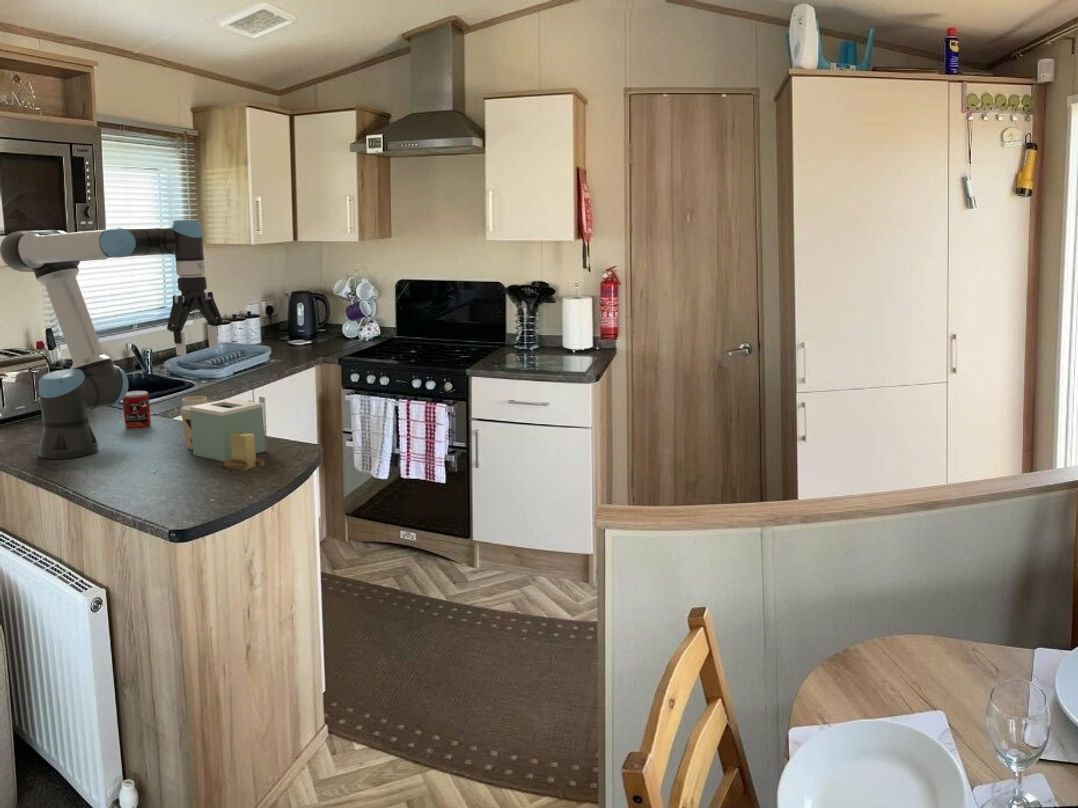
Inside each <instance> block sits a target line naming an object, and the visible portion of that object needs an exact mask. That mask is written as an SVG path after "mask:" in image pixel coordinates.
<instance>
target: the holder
mask: <svg viewBox="0 0 1078 808" xmlns="http://www.w3.org/2000/svg"><path fill="white" fill-rule="evenodd" d="M265 465H266V463H265V459H261V458H258V457H256V467H263V466H265ZM223 467H225V468H228V469H233V470H236V471H237V470H238V471H243V472H247V471H249V469H250V468H249V464H245V463H241V462H236V461H232V460H227V461H223Z"/></svg>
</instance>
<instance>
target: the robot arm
mask: <svg viewBox="0 0 1078 808" xmlns="http://www.w3.org/2000/svg"><path fill="white" fill-rule="evenodd" d="M201 224H202V223H201V222H200V221H199V220H197V219H175V220H173V221H172V223H171V227H160V226H159V227H156V226H155V227H154V226H149V227H148V226H146V227H124V228H123V227H114V228H109V229H100V230H87V231H77V232H66V231H64V230H56V229H46V230H45V229H43V230H17V231H13V232H10V233H9V234H7V235H6V236H5V237H4V238H3V239H2V240H1V243H0V257H1V259H2V261H3V263H5V265H6V266H7V267H9V268H10V269H12V270H14V271H17V272H22V273H34V276H35V278H36V282H38V283H40V284H43V285H44V286H45V289H46V292H47V295H48V298H49V301H50V303H51V306H52V309H53V311H54V314H55V316H56V317H55V318H56V320H57V322H58V326H59V328H60V330H61V334H62V335H63V339H64V340H65V341H64V342H65V344H66V347H67V350H68V352H69V355H70V358H71V360H72V365H71V367H70V368H65V369H62V370H54V371H50V372H48V373H46V374H43V375H42V376H41V377H40V378H39V380H38V395H39V403H40V410H41V418H42V425H43V430H42V434H41V439H40V441H39V447H38V451H39V452H38V453H39V457H40V458H42V459H46V458H47V460H67V459H73V458H81V457H85V456H89V455H92V454H94V453H96V452H98V451H99V443H98V440H97V438H96V436H95V434H94V432H93V430H92V428H91V425H90V421H89V413H88V412H92V411H96V410H99V409H103V408H109V407H112V406H114V405H116V404H119V403H120V402H121V401H122V402H123V399H124V397H125V396H126V393H127V392H129V379H128V375H127V374H126V372H125V370H123V369H121V367H120V366H118V365H115V364H114V363H113V359H112V357H110V356H108V355H106V354H104V351H103V349H102V346H101V343H100V340H99V337H98V335H97V332H96V328H95V326H94V323H93V321H92V318H91V316H90V312H89V310H88V307H87V304H86V302H85V301H86V300H85V299H84V296H83V293H82V289H81V287H80V286H79V283H78V279H77V276H78V274H79V272H80V269H79V265H80V264H81V261H89V260H90V261H91V260H99V259H100V260H103V259H112V258H113V259H114V258H115V259H116V258H117V259H119V258H128V257H138V256H139V257H143V256H161V255H162V256H164V255H165V256H166V255H167V256H168V255H172V256H173V255H174V258H175V259H174V260H175V269H176V270H175V271H176V272H175V273H176V275H177V276H178V277H177V289H178V291H180V292H181V294H179V295H178V294H177V295H172V305H171V310H170V313H169V318H168V321H167V327H166V329H167V331H169V332H172V333H173V341H174V344H175V351H176V356H187V347H186V335H185V331H183V329H184V328H185V324H186V322H187V320H188V318H189V315H190V313H192V312H193V311H196V310H198V311H199V312H200V314H201V315H202V316H203V318H204V319H205V320H206V321H207V324H209V325H207V326H206V328H207V338H208V347H209V349H214V350H215V349H216V350H218V349H219V330H218V329H219V327H218V326H221V325H222V323H223V320H224V319H223V317H222V315H221V313H220V311H219V308H218V306H217V304H216V301H215V299H214V294H213V292H212V291H205V290H207V288H208V286H207V285H208V284H207V278H206V276H204V275H205V274H206V267H205V257H204V241H203V239H204V235H203V231H202V225H201Z"/></svg>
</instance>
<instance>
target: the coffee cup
mask: <svg viewBox="0 0 1078 808" xmlns="http://www.w3.org/2000/svg"><path fill="white" fill-rule="evenodd" d="M195 405H200V404H192V405H187V406H184V407H182V406H181V407H182V409H181V408H180V414H181V413H182V416H181V418H182V419H181V420H182V425H183V431H184V438H185V443H186V447H187V449H188V448H189V449H188V450H192V449H193V443H192V431H191V419H190V406H195Z"/></svg>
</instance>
